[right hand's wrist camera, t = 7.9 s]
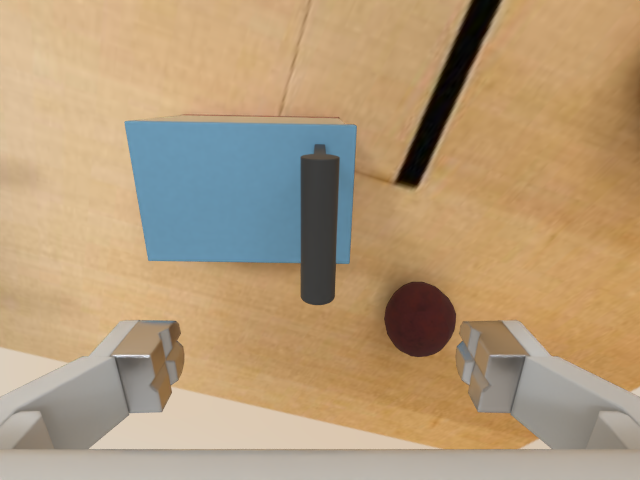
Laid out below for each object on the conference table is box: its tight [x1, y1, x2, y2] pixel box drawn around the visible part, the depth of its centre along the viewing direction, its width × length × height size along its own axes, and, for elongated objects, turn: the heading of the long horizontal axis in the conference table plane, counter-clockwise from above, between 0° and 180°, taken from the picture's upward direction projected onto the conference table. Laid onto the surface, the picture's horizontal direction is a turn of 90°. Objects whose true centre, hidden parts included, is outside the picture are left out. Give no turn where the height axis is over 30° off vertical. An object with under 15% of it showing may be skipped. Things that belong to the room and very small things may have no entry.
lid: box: [125, 121, 357, 305], centre depth 22 cm, size 15×10×9 cm, turn 89°
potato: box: [384, 282, 456, 357], centre depth 38 cm, size 7×8×7 cm
